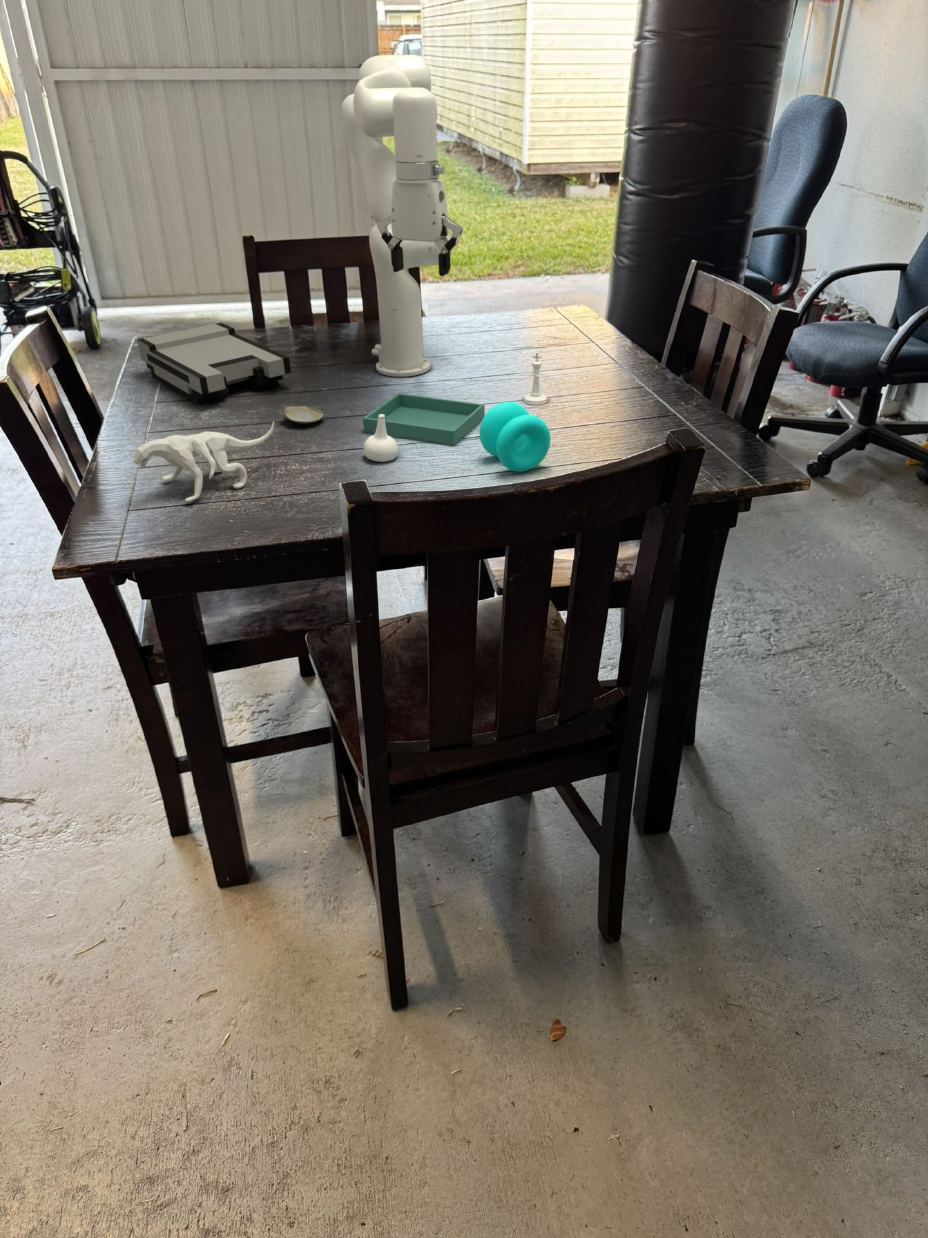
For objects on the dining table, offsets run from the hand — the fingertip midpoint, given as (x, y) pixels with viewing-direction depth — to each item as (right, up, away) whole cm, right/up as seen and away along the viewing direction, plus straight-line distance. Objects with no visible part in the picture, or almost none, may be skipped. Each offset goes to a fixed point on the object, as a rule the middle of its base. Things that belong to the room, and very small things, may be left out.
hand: (421, 272), depth 161 cm
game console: (-48, -13, +29) cm, 57 cm away
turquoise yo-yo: (+17, -39, -11) cm, 44 cm away
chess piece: (+23, -21, +16) cm, 35 cm away
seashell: (-24, -27, +8) cm, 37 cm away
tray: (+1, -28, +5) cm, 28 cm away
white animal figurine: (-35, -43, -16) cm, 57 cm away
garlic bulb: (-7, -37, -8) cm, 38 cm away
